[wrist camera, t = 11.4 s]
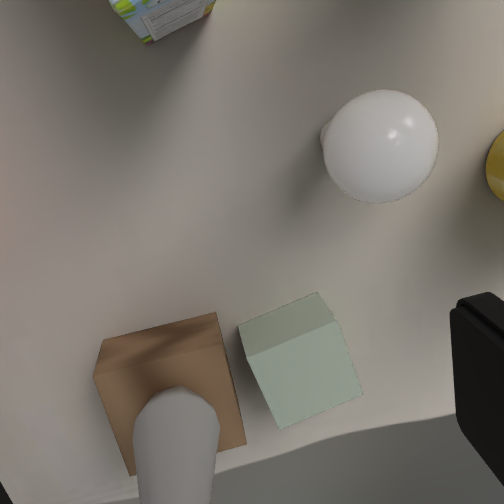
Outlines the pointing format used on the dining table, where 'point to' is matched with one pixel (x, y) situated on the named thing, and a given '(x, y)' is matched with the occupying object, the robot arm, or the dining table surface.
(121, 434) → the walnut block
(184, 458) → the salt shaker
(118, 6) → the snack box
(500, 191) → the plant pot
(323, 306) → the sage block
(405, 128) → the lightbulb
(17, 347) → the dining table surface
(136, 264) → the dining table surface
